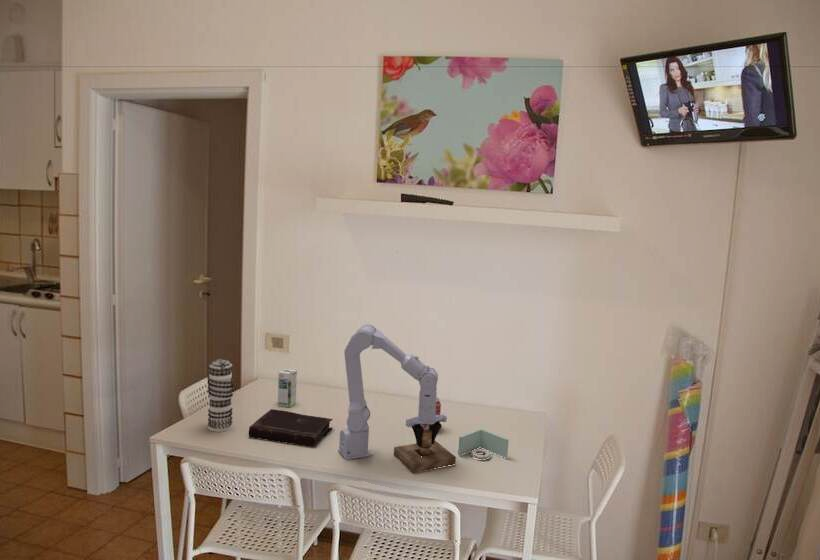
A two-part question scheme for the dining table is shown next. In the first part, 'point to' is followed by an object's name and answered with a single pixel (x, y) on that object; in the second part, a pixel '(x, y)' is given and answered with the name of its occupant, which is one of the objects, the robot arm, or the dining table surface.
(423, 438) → the peg
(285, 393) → the syrup box
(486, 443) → the l-shaped corner panel
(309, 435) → the diary
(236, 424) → the dining table surface
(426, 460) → the board
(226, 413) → the decorative candle
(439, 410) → the soda can
